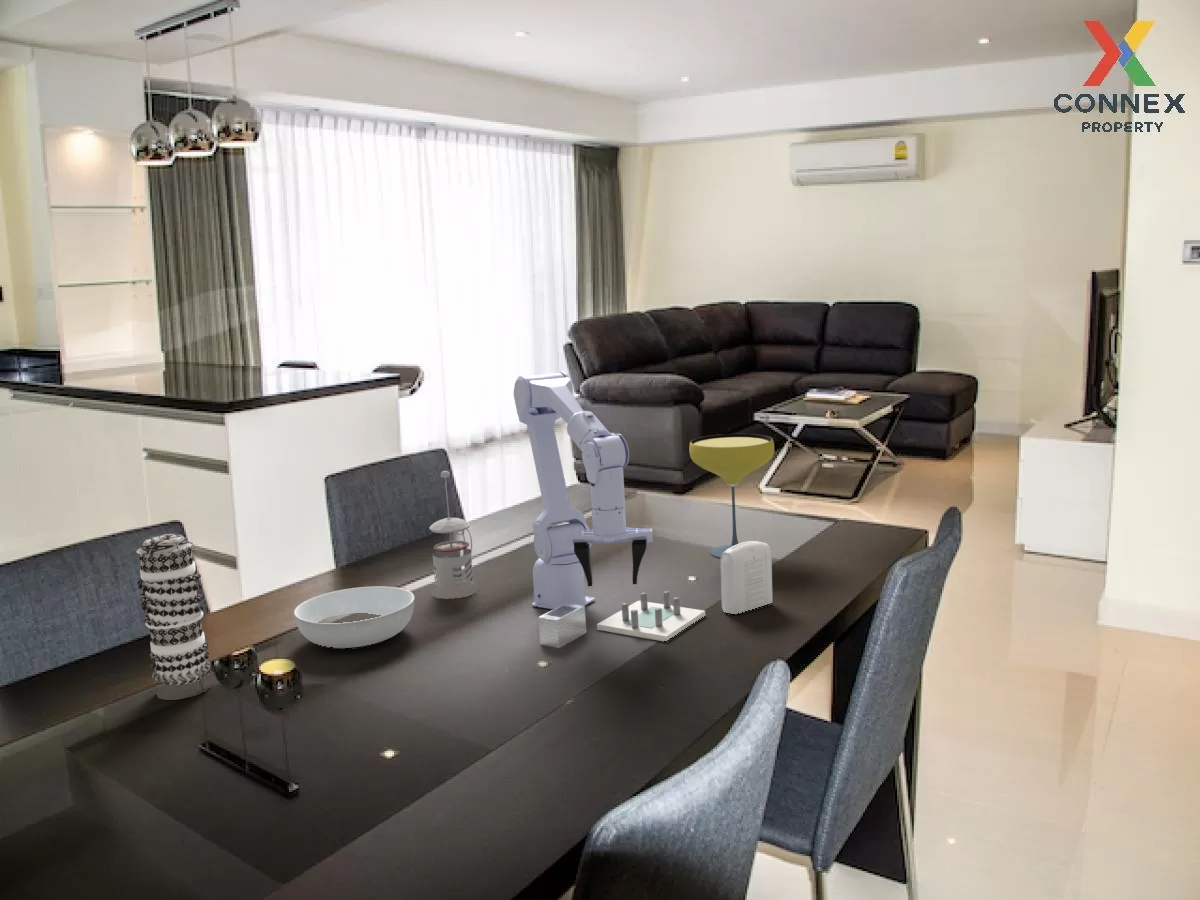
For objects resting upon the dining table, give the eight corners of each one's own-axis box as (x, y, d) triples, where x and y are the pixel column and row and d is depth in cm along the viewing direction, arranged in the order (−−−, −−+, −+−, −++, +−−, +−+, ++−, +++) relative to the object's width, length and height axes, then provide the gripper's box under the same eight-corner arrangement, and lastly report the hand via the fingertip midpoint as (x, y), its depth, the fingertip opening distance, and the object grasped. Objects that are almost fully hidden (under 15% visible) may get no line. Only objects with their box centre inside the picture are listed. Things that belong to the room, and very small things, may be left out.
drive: (540, 645, 167) (538, 616, 166) (567, 629, 174) (566, 602, 173) (559, 648, 165) (557, 620, 164) (586, 633, 171) (584, 605, 170)
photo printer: (760, 599, 183) (758, 535, 181) (776, 604, 180) (774, 539, 178) (718, 611, 178) (715, 545, 176) (733, 617, 174) (731, 550, 172)
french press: (421, 597, 196) (410, 475, 192) (451, 580, 207) (441, 463, 203) (464, 601, 192) (453, 476, 188) (492, 583, 203) (483, 464, 199)
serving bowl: (440, 625, 179) (437, 589, 178) (368, 668, 161) (364, 628, 160) (349, 615, 188) (346, 580, 187) (271, 654, 170) (267, 616, 168)
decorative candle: (154, 707, 150) (132, 549, 146) (151, 686, 158) (129, 536, 154) (218, 693, 154) (198, 538, 150) (211, 673, 162) (192, 527, 158)
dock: (597, 629, 172) (596, 607, 172) (638, 605, 184) (637, 585, 183) (666, 641, 165) (665, 619, 164) (705, 616, 176) (704, 594, 175)
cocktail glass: (789, 546, 218) (786, 434, 213) (756, 568, 203) (753, 449, 198) (715, 538, 227) (711, 432, 223) (679, 559, 212) (674, 445, 208)
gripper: (563, 514, 163) (568, 592, 165) (651, 510, 162) (655, 589, 164) (566, 504, 170) (571, 579, 172) (650, 500, 169) (654, 576, 171)
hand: (612, 583), depth 169 cm, fingers open, 7 cm apart
